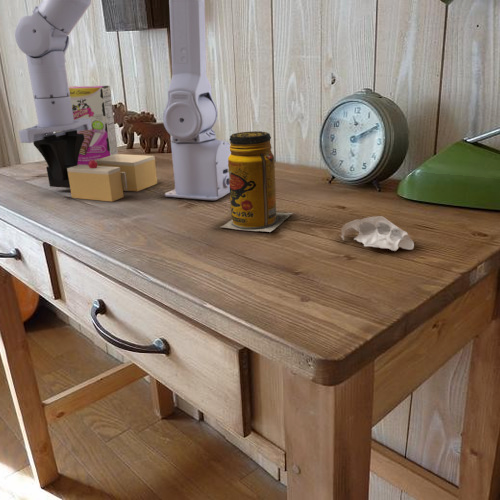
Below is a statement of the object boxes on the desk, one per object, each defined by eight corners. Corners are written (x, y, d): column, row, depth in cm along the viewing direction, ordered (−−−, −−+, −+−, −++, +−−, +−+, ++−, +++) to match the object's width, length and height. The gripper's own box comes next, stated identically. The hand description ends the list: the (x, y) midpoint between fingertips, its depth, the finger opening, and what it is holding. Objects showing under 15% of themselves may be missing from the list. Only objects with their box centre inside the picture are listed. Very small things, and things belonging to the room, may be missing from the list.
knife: (49, 186, 94) (46, 166, 93) (58, 183, 96) (54, 164, 95) (123, 191, 88) (120, 170, 87) (130, 189, 89) (128, 168, 88)
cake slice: (123, 197, 89) (119, 159, 87) (112, 201, 87) (107, 163, 84) (84, 193, 93) (78, 157, 91) (71, 197, 90) (65, 161, 88)
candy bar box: (60, 170, 112) (46, 88, 106) (70, 165, 116) (57, 86, 110) (112, 169, 110) (101, 86, 105) (120, 164, 115) (110, 84, 109)
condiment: (219, 228, 72) (213, 137, 67) (246, 210, 79) (242, 127, 74) (270, 233, 69) (267, 138, 64) (293, 215, 76) (292, 128, 72)
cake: (157, 183, 97) (154, 155, 96) (137, 191, 92) (133, 162, 91) (119, 180, 101) (116, 153, 99) (98, 188, 96) (94, 160, 94)
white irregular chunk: (365, 231, 68) (366, 202, 66) (418, 248, 62) (421, 216, 60) (333, 242, 65) (334, 211, 63) (387, 260, 59) (388, 226, 57)
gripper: (65, 92, 97) (77, 168, 101) (-2, 101, 84) (15, 186, 89) (96, 92, 94) (106, 170, 98) (32, 101, 81) (47, 189, 86)
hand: (65, 178), depth 94 cm, fingers closed on knife, 2 cm apart
